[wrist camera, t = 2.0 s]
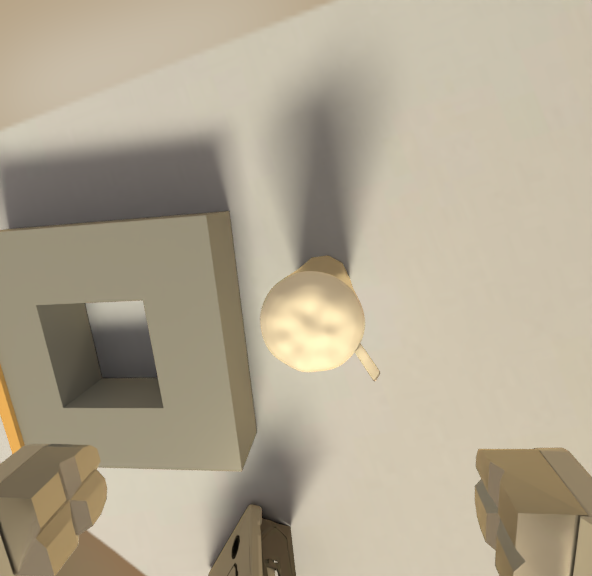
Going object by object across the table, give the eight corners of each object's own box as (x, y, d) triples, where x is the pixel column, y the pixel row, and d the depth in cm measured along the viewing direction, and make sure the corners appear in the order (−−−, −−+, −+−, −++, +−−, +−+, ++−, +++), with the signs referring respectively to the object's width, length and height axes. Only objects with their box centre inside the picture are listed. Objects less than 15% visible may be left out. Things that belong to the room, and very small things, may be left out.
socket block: (229, 211, 24) (204, 215, 20) (256, 432, 28) (240, 474, 23) (8, 228, 26) (-56, 236, 22) (62, 429, 30) (17, 468, 26)
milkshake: (348, 331, 25) (348, 422, 15) (276, 293, 25) (230, 359, 15) (384, 272, 23) (409, 330, 14) (308, 231, 23) (280, 261, 14)
